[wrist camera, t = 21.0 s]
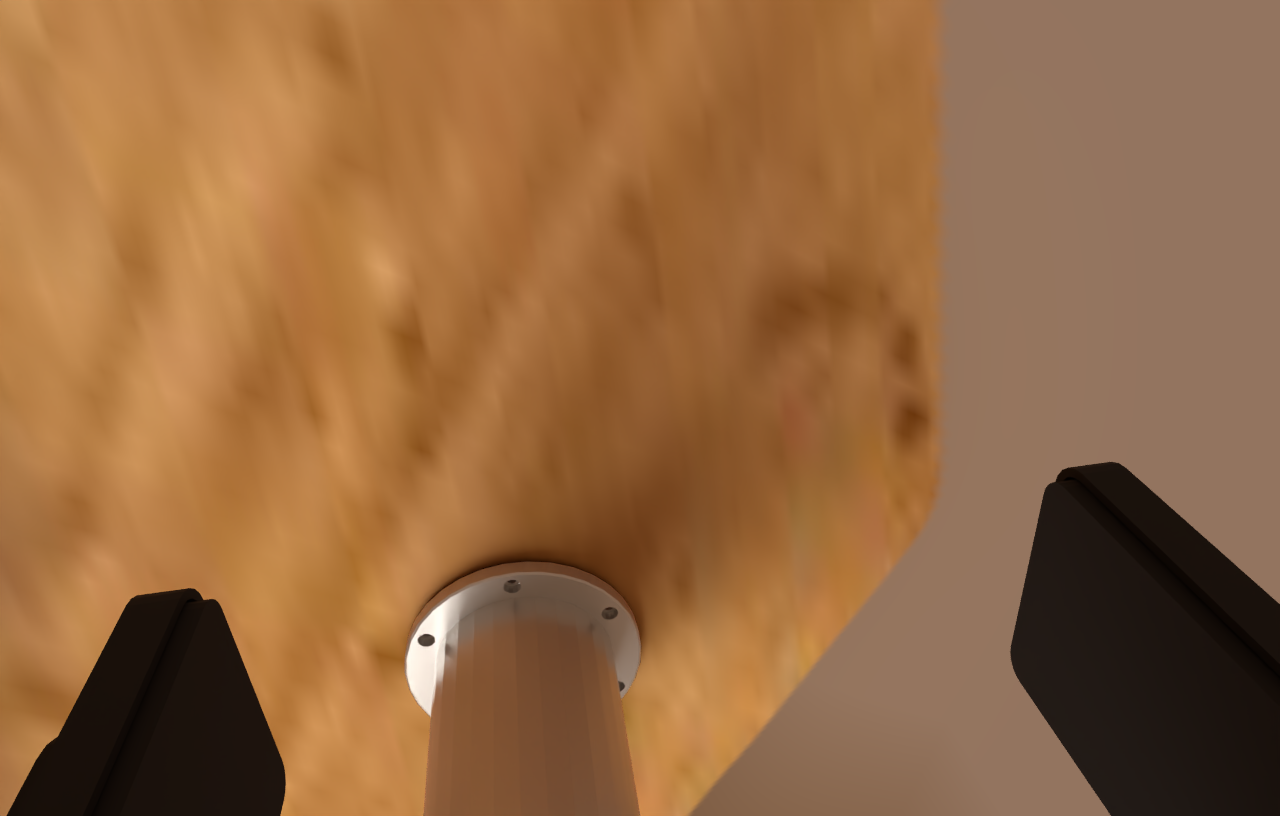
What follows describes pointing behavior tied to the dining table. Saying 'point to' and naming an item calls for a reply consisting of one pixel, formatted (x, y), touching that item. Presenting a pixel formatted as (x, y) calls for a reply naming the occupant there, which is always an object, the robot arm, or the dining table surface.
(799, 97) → the dining table surface
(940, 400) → the dining table surface
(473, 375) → the dining table surface
